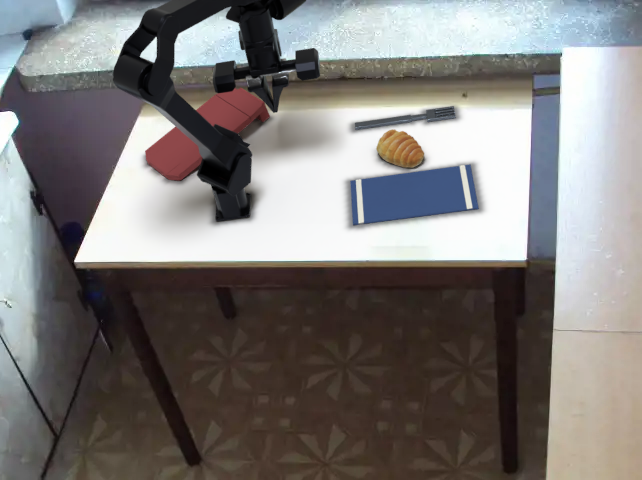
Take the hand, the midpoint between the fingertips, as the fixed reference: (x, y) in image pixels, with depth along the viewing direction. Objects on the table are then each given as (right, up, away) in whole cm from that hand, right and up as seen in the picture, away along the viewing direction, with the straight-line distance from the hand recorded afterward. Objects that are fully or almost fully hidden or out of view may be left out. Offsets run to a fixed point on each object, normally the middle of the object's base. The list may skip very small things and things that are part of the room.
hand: (275, 111), depth 173 cm
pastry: (+23, -7, +5) cm, 25 cm away
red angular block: (-14, -1, +18) cm, 23 cm away
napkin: (+25, -16, -3) cm, 29 cm away
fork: (+25, +2, +12) cm, 27 cm away
